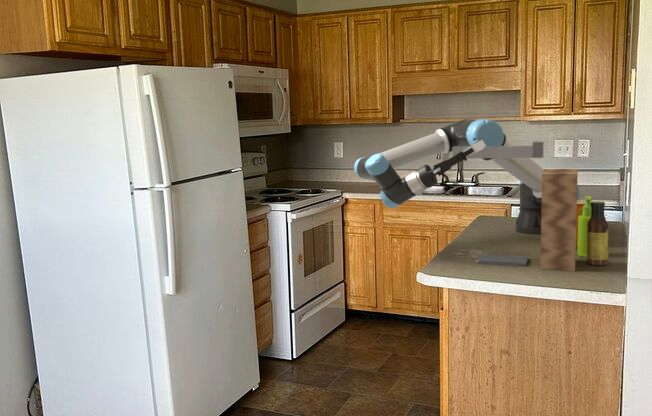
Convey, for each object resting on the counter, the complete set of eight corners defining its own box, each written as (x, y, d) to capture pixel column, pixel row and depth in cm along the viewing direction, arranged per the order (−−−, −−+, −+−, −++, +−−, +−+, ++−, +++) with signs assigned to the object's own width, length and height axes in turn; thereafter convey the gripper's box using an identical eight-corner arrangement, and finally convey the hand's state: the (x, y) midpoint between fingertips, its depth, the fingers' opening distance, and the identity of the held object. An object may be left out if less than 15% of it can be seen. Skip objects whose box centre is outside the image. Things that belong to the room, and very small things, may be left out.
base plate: (478, 263, 199) (478, 260, 199) (482, 256, 207) (482, 254, 207) (526, 266, 193) (526, 263, 193) (528, 259, 202) (528, 256, 201)
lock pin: (452, 158, 198) (452, 143, 198) (454, 157, 203) (454, 142, 202) (542, 157, 188) (542, 142, 187) (543, 156, 192) (543, 141, 191)
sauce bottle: (612, 265, 190) (614, 202, 187) (594, 267, 189) (596, 204, 186) (599, 260, 197) (601, 200, 194) (582, 261, 196) (583, 201, 193)
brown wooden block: (540, 269, 189) (542, 173, 185) (542, 258, 202) (544, 168, 197) (575, 271, 186) (577, 173, 181) (575, 260, 198) (577, 168, 194)
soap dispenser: (577, 257, 202) (578, 197, 199) (577, 252, 208) (578, 194, 205) (596, 258, 200) (598, 198, 197) (595, 253, 206) (597, 195, 203)
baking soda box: (572, 241, 224) (573, 198, 222) (591, 242, 222) (592, 199, 220) (573, 247, 216) (574, 203, 213) (593, 248, 213) (594, 203, 211)
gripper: (433, 185, 213) (492, 151, 204) (422, 192, 198) (485, 155, 188) (422, 167, 214) (481, 132, 204) (410, 172, 198) (473, 135, 189)
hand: (483, 143), depth 196 cm, fingers closed on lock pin, 4 cm apart
